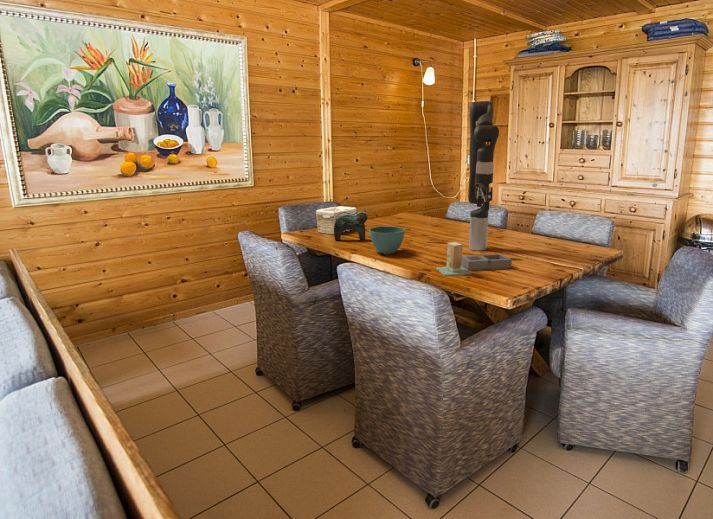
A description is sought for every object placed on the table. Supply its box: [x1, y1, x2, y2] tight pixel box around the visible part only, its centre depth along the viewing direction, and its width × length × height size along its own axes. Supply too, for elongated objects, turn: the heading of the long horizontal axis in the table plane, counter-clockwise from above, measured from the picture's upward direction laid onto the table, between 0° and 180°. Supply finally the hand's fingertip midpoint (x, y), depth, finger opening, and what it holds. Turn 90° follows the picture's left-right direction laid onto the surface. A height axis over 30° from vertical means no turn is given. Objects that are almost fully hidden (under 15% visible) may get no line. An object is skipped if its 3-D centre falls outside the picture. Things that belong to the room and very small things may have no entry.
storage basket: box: [315, 205, 358, 235], centre depth 314 cm, size 24×16×15 cm
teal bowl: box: [369, 225, 405, 255], centre depth 255 cm, size 18×18×12 cm
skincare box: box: [445, 241, 464, 272], centre depth 218 cm, size 6×4×12 cm
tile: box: [435, 266, 472, 277], centre depth 220 cm, size 12×12×1 cm
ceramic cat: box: [333, 205, 369, 241], centre depth 285 cm, size 20×6×20 cm, turn 89°
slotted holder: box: [461, 253, 513, 271], centre depth 227 cm, size 11×21×4 cm, turn 99°
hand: (482, 208), depth 221 cm, fingers open, 8 cm apart
